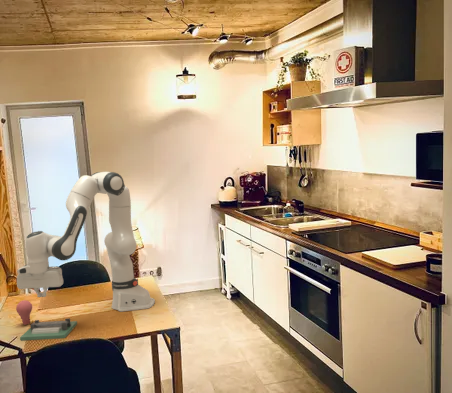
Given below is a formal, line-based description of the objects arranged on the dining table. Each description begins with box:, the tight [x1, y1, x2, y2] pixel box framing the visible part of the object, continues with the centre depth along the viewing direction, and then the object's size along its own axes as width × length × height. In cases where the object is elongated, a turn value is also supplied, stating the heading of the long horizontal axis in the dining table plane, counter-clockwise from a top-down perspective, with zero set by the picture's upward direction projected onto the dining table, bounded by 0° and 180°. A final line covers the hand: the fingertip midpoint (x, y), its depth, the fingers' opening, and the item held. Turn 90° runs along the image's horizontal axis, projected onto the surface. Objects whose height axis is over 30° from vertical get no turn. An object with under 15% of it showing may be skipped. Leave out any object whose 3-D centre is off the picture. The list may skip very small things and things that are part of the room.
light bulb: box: [15, 299, 33, 326], centre depth 222 cm, size 7×7×12 cm
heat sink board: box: [19, 317, 78, 341], centre depth 211 cm, size 20×16×5 cm
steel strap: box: [30, 320, 69, 328], centre depth 211 cm, size 17×3×2 cm, turn 89°
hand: (41, 296), depth 210 cm, fingers closed
